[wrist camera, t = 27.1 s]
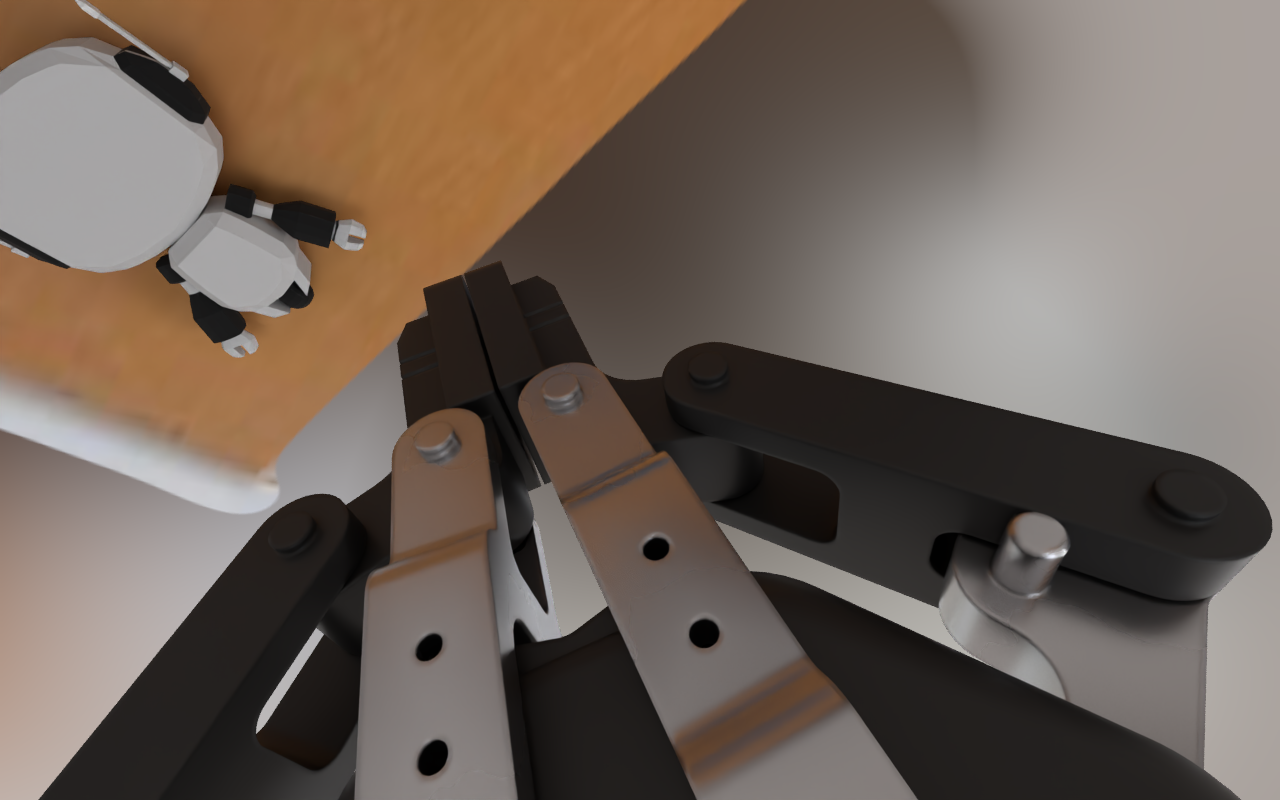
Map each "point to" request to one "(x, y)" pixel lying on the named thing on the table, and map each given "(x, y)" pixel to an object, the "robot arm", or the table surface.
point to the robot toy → (145, 184)
